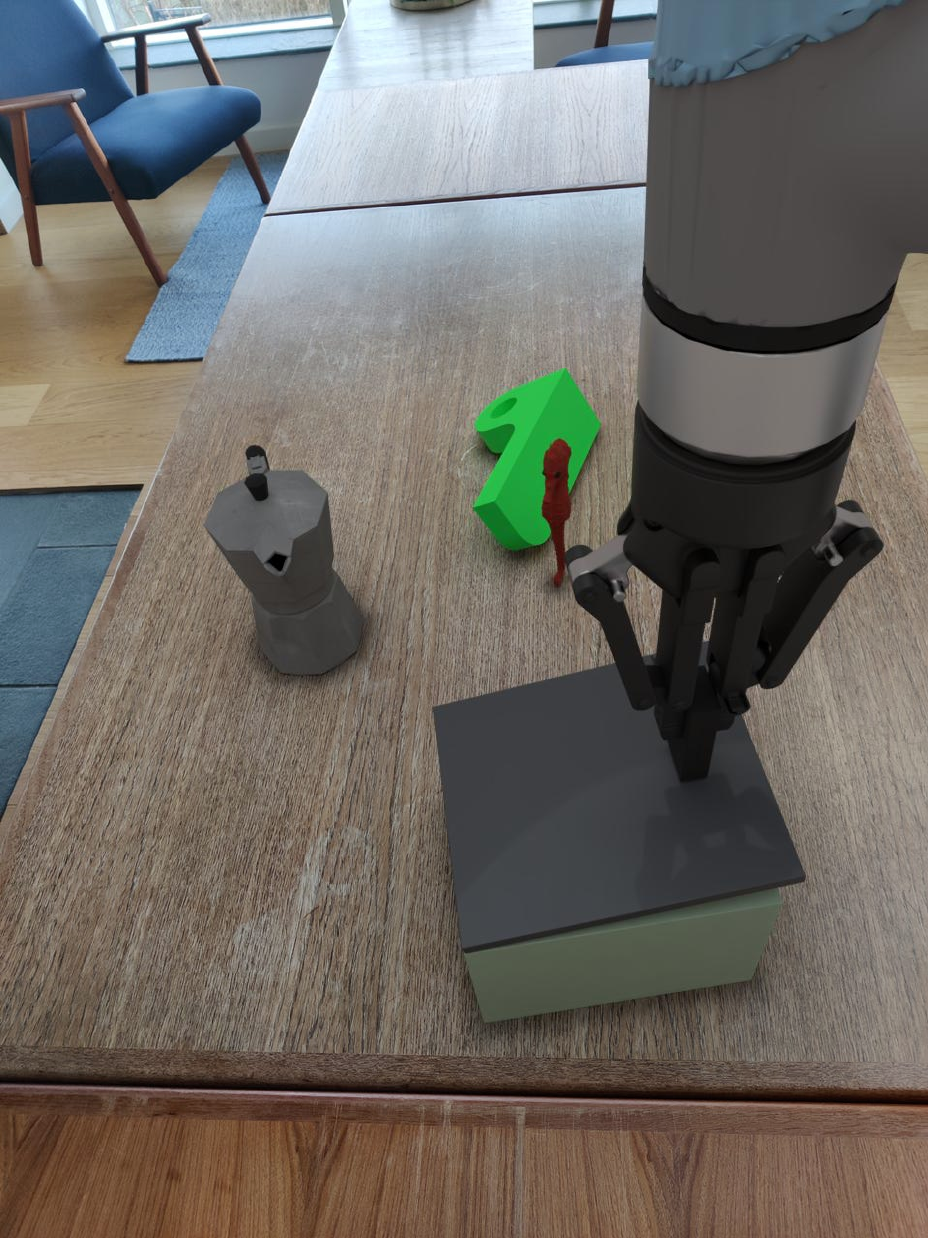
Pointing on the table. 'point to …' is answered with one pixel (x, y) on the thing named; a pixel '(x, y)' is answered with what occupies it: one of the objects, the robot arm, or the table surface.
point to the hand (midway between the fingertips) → (686, 757)
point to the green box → (626, 958)
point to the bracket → (530, 453)
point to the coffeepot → (287, 566)
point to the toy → (557, 498)
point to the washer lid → (595, 812)
